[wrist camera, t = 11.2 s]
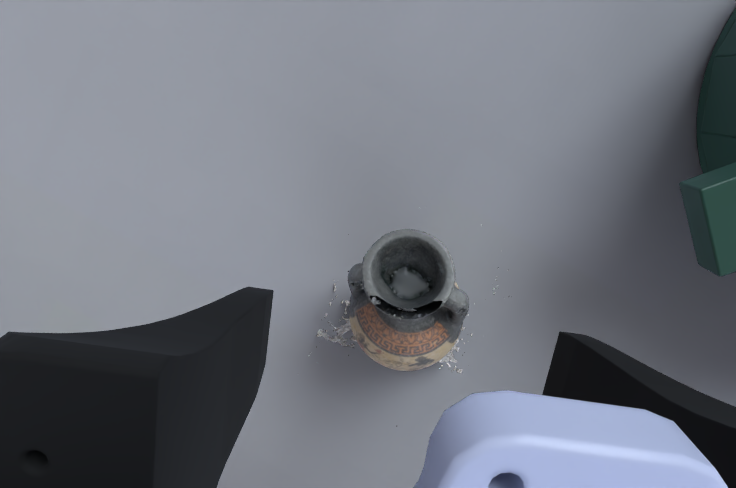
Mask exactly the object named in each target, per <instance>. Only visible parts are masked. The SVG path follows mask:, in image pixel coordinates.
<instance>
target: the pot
mask: <svg viewBox="0 0 736 488" xmlns="http://www.w3.org/2000/svg"><path fill="white" fill-rule="evenodd" d="M697 145H698V152H699V158H700V165H701V168H702V171H703V174H702V175H699V176H696V177H693V178H691V179H688V180H685V181H682V182H680V183H679V185H680V190H681V194H682V198H683V202H684V206H685V211H686V215H687V219H688V223H689V227H690V232H691V236H692V240H693V244H694V248H695V253H696V257H697V261H698V264H699V265H700V266H701V267H703V268H705V269H707V270H708V271H710V272H712V273H714V274H716V275H717V276H725V275H728V274H730V273H733V272H736V9H735V10H734V12H733V13H732V15H731V17H730V18H729V20H728V21H727V23H726V25H725V27H724V29H723V31H722V33H721V35H720V37H719V39H718V41H717V43H716V45H715V47H714V49H713V52H712V55H711V57H710V60H709V63H708V65H707V68H706V71H705V75H704V79H703V83H702V87H701V91H700V96H699V104H698V113H697Z"/></svg>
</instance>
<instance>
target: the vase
mask: <svg viewBox="0 0 736 488" xmlns="http://www.w3.org/2000/svg"><path fill="white" fill-rule="evenodd" d="M419 209H420V208H419ZM481 226H482V225H481ZM348 235H349V234H348ZM498 268H499V267H498ZM508 271H509V270H508ZM348 272H349V274H348V283H349V287H350V290H351V293H352V295H351V298H350V302H349V301H348V300H347V301H346V300H345V303H346V306H348V305H350V306H349V319H347V318H345V317H343V316H342V319H343V320H346V324H345V325H341V326H340V327H339V328H335V327H334V326H333V327H334V329H335V330H333V331H337V336H335V337H334V338H333V339H332V338H329V337H330V336H329V335H328V334H327V332H328V331H327V330H326V333H323V330H322V329H319V331H318V335H317V336H320V337H321V336H324V339H326V340H328V341H332V342H334V343H336V342H339V343H340V345H342V346H346V347H347V346H350V345H349V344H348V345H346V341H347V340H348V338H345V339H343V337H342V335H343V334H344V333H346V332H347V331H349V330H352V332H353V334H354V336H352V337H351V338H350V340H351V341H357V342H358V344H359V346H360V347H361V348H362V350H363V351H364V352H365V353H366V354H367V355H368V356H369V357H370V358H371V359H373V360H374V361H376V362H377V363H379V364H381V365H383V366H385V367H387V368H390V369H394V370H399V371H414V370H420V369H423V368H426V367H429V366H431V365H433V364H435V363H436V362H439V363H440V362H449V361H450V362H454V363H455V362H456V359H454V358H453V357H454V356H453V353H452V351H453V350H456V351H457V352H459V349H460V348H459V347H456V344H457V343H458V341H459V340H458V337H459V335H460V332H461V330H462V331H463V330H464V329H465V327H463V325H462V324H463V320H464V318H465V316H466V315H468V314H467V312H468V308H469V300H468V296H467V295H466V293H465V292H463V291H462V290H460V289H459V288H458V286H457V284H456V282H455V268H454V264H453V260H452V257H451V255H450V253H449V251H448V250H447V248H446V247H445V245H444V244H443V243H442V242H441V241H439V240H438V239H436V238H435V237H433V236H431V235H430V234H427V233H425V232H421V231H418V230H410V229H402V230H397V231H392V232H390V233H388V234H386V235H384V236H382V237H381V238H380V239H379V240H377V241H376V242H375V243H374V244H373V245H372V246H371V248H370V249H369V250H368V251H367V253H366V254H365V256H364V258H363V262H362V263H359V264H356V265H354V266H353V267H352V268H351V269H350V271H348ZM497 277H498V276H497ZM333 281H334V280H333ZM496 281H497V280H496ZM497 287H498V285H497ZM334 288H335V289H334V292H335V291H336V283H334ZM496 289H498V288H496ZM493 290H494V288H493ZM493 290H492V291H493ZM493 293H494V294H495V292H493ZM508 297H509V296H508ZM511 297H512V296H511ZM336 298H337V297H336ZM332 300H333V299H332ZM485 300H486V299H485ZM343 302H344V301H343V300H342V301H341V303H342V304H343ZM474 304H475V303H474ZM329 305H330V306H331V302H330V303H329ZM341 307H342V306H341ZM399 307H400V308H406V309H410V308H413V309H416V310H417V311H412V312H410V311H409V312H408V311H402V310H403V309H402V310H398V309H397V308H399ZM345 308H346V309H347V307H345ZM346 309H345V313H346V315H347V312H346V311H347V310H346ZM345 313H344V315H345ZM325 315H326V316H328V315H327V314H325ZM324 318H325V317H324ZM321 320H322V319H321ZM339 321H341V319H340V320H339ZM328 323H330V321H328ZM331 326H332V323H331ZM467 335H468V334H467ZM471 337H472V333H471ZM460 340H463V339H460ZM467 342H468V341H467ZM319 343H320V342H319ZM464 344H465V343H464ZM351 347H352V348H354V344H351ZM316 348H317V346H316ZM310 353H311V352H310ZM464 353H465V352H464ZM308 356H309V355H308ZM348 356H349V355H348ZM462 356H463V355H462ZM317 363H318V362H317ZM457 363H458V362H457ZM447 365H448V366H449V367H451V366H450V365H449V363H447ZM441 366H442V365H441ZM468 366H469V365H468ZM442 367H443V366H442ZM456 367H457V366H456V365H455V368H456ZM455 368H453V370H456V371H457V372H458V373H462V369H461V370H459V369H455ZM439 369H441V368H439ZM448 369H449V368H448ZM451 371H452V370H451ZM396 427H397V426H396Z"/></svg>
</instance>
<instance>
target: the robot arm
mask: <svg viewBox="0 0 736 488" xmlns="http://www.w3.org/2000/svg"><path fill="white" fill-rule="evenodd" d="M272 299H273V290H267V289H260V288H253V287H246V288H243V289H241V290H238V291H236V292H234V293H232V294H230V295H228V296H225V297H223V298H221V299H219V300H217V301H214V302H212V303H210V304H208V305H205V306H203V307H200V308H198V309H195V310H192V311H190V312H187V313H185V314H182V315H179V316H176V317H173V318H169V319H166V320H162V321H158V322H154V323H150V324H146V325H141V326H134V327H128V328H122V329H116V330H109V331H98V332H85V333H21V332H8V333H7V334H5V335H4V336H2V337H1V338H0V488H217V485H218V481H219V479H220V476H221V474H222V471H223V469H224V466H225V464H226V462H227V459H228V457H229V455H230V453H231V451H232V448H233V446H234V444H235V442H236V440H237V438H238V435H239V433H240V431H241V429H242V427H243V424H244V422H245V420H246V418H247V416H248V413H249V411H250V409H251V407H252V405H253V402H254V400H255V398H256V395H257V392H258V388H259V385H260V382H261V378H262V374H263V371H264V367H265V362H266V353H267V344H268V335H269V326H270V317H271V308H272ZM413 488H736V407H734V406H732V405H729V404H727V403H724V402H722V401H720V400H717V399H715V398H712V397H710V396H707V395H705V394H703V393H701V392H699V391H696V390H694V389H692V388H690V387H688V386H686V385H684V384H682V383H680V382H678V381H676V380H674V379H672V378H670V377H668V376H666V375H664V374H662V373H660V372H658V371H656V370H654V369H652V368H650V367H648V366H647V365H645V364H643V363H641V362H639V361H637V360H635V359H634V358H632V357H630V356H628V355H626V354H624V353H622V352H621V351H619V350H617V349H615V348H613V347H611V346H609V345H607V344H605V343H603V342H601V341H599V340H597V339H594V338H592V337H589V336H586V335H581V334H574V333H567V332H559V336H558V339H557V343H556V347H555V350H554V354H553V358H552V361H551V365H550V369H549V372H548V376H547V380H546V383H545V387H544V390H543V394H542V395H537V394H530V393H523V392H516V391H508V390H503V391H492V392H482V393H472V394H471V395H469V396H467V397H466V398H464V399H463V400H461V401H459V402H458V403H456V404H454V405H453V406H451V407H450V408H448V409H446V410H445V411H444V412H443V414H442V416H441V418H440V420H439V422H438V423H437V425H436V427H435V429H434V431H433V433H432V434H431V436H430V440H429V444H428V449H427V454H426V458H425V463H424V468H423V470H422V473H421V475H420V478H419V481H418V482H417V483H416V485H415V486H414V487H413Z"/></svg>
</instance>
